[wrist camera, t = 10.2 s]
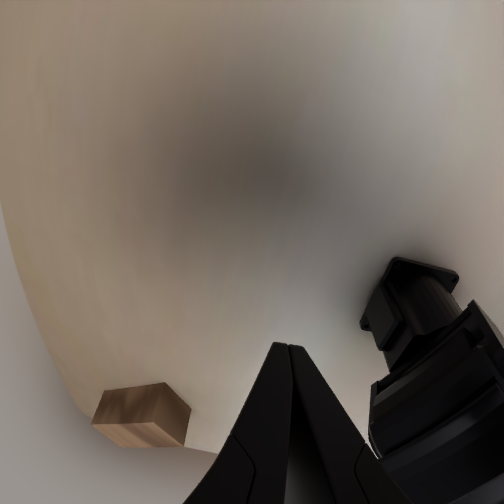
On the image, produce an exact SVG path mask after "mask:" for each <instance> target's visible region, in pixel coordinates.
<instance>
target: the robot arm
mask: <svg viewBox="0 0 504 504" xmlns="http://www.w3.org/2000/svg"><path fill="white" fill-rule="evenodd" d="M398 263H399V265H398V266H395V265H396V264H398ZM453 278H454V279H453ZM458 281H459V276H458V274H457V273H456V272H454V271H450V270H446V269H442V268H439V267H435V266H431V265H427V264H423V263H419V262H416V261H412V260H408V259H404V258H400V257H396V258H394V259H392V260H391V262H390V264H389V266H388V268H387V270H386V272H385V274H384V276H383V278H382V280H381V282H380V283H379V284H378V286H377V288H376V290H375V292H374V294H373V296H372V297H371V299H370V301H369V303H368V305H367V307H366V309H365V314H364V315H363V317H362V319H361V321H360V327H361V329H362V330H364V331H371V332H372V333H373V336H374V339H375V342H376V345H377V348H378V350H379V351H383V353H384V356H385V359H386V363H387V366H388V369H389V372H390V374H388V375H387V376H386V377H384V378H383V379H381V380H380V381H376V382H375V383H374V384H372V385H371V397H370V412H369V425H368V435H369V442H370V444H371V446H372V449H373V451H374V453H375V454H376V456H377V457H378V458H379V459H377V458H376V456H375V455H374V453H373V452H372V450H371V449H370V447H369V446H368V444H367V443H365V440H364V438H363V437H362V435H361V434H360V432H359V431H358V429H357V428H356V426H355V425H354V423H353V422H352V420H351V419H350V417H349V416H348V414H347V413H346V411H345V410H344V408H343V407H342V405H341V404H340V402H339V400H338V399H337V397H336V396H335V394H334V393H333V391H332V390H331V388H330V387H329V385H328V384H327V382H326V381H325V379H324V378H323V376H322V374H321V373H320V371H319V370H318V368H317V367H316V365H315V364H314V362H313V361H312V359H311V358H310V356H309V355H308V353H307V351H306V350H305V348H304V347H303V346H299V345H292V344H289V345H287V344H286V343H280V342H273V343H272V345H271V347H270V350H269V352H268V354H267V356H266V359H265V361H264V363H263V365H262V367H261V369H260V372H259V374H258V376H257V378H256V380H255V382H254V385H253V387H252V389H251V391H250V393H249V395H248V397H247V399H246V401H245V403H244V406H243V408H242V410H241V412H240V414H239V416H238V418H237V420H236V422H235V424H234V426H233V428H232V430H231V432H230V435H229V436H228V438H227V440H226V442H225V444H224V446H223V448H222V449H221V451H220V453H219V455H218V456H217V458H216V460H215V462H214V463H213V465H212V466H211V468H210V469H209V470H208V472H207V473H206V475H205V476H204V477H203V479H202V480H201V481H200V483H199V484H198V485H197V486H196V488H195V489H194V490H193V492H192V493H191V494H190V495H189V496H188V498H187V499H186V500H185V501H184V503H183V504H504V337H503V335H502V334H501V332H500V331H499V329H498V328H497V327H496V325H495V324H494V323H493V322H492V321H491V319H490V318H489V317H488V316H487V315H486V313H485V312H484V311H483V310H482V309H481V307H480V306H479V305H478V304H477V303H476V302H475V301H474V299H473V300H472V301H471V302H470V303H469V304H468V305H467V306H468V307H467V308H466V309H465V310H464V311H463V312H462V310H461V308H460V307H459V305H458V304H457V302H456V301H455V299H454V298H453V296H452V295H451V293H452V291H453V290H454V288H455V286H456V284H457V283H458ZM367 323H368V324H367ZM365 324H366V325H365Z"/></svg>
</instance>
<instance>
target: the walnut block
mask: <svg viewBox="0 0 504 504" xmlns="http://www.w3.org/2000/svg"><path fill="white" fill-rule="evenodd" d="M190 413H191V408H190V407H189V406H188V405H187V404H186V403H185V402H184V401H183V400H182V399H181V398H180V397H179V396H178V395H177V394H176V393H175V392H174V391H173V390H172V389H171V388H170V387H169V386H168V385H167V384H166V383H165V382H164V383H158V384H152V385H145V386H138V387H131V388H124V389H116V390H108V391H104V393H103V395H102V398H101V400H100V403H99V405H98V408H97V410H96V412H95V415H94V417H93V420H92V423H91V425H92V426H94V427H95V428H96V429H97V430H99V431H100V432H101V433H102V434H104V435H105V436H106V437H108V438H109V439H110V440H112V441H113V442H114V443H116V444H117V445H119V446H120V447H181V446H184V443H185V438H186V433H187V428H188V423H189V418H190Z"/></svg>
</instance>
